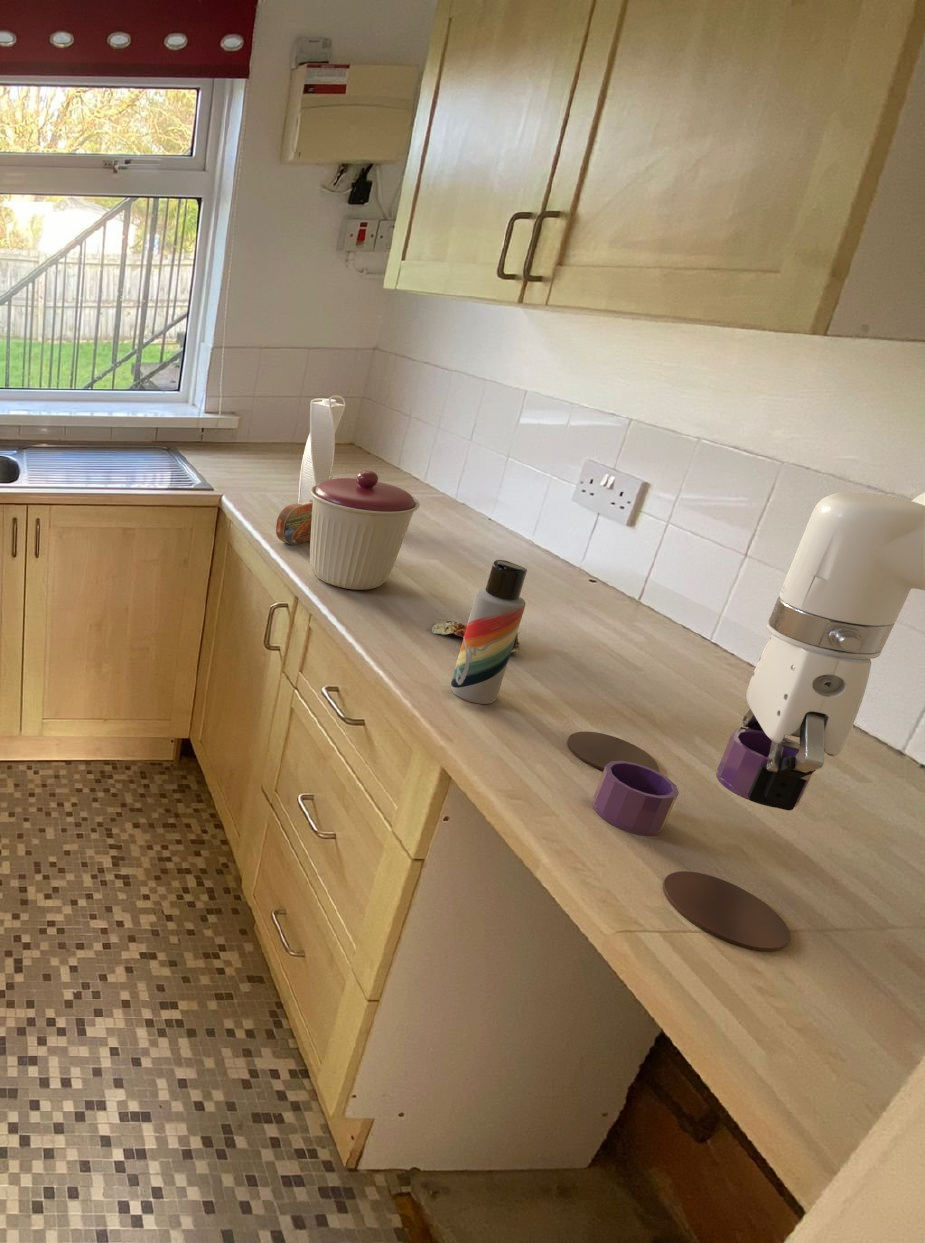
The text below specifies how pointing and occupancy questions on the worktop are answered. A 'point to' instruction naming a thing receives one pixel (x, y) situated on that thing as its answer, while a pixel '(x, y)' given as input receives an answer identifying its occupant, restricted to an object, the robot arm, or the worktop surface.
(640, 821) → the ramekin
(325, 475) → the skyscraper
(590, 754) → the coaster back
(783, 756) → the ramekin
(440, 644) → the worktop surface
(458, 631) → the pastry
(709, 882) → the coaster front
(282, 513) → the tin
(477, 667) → the lotion bottle
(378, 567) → the canister
